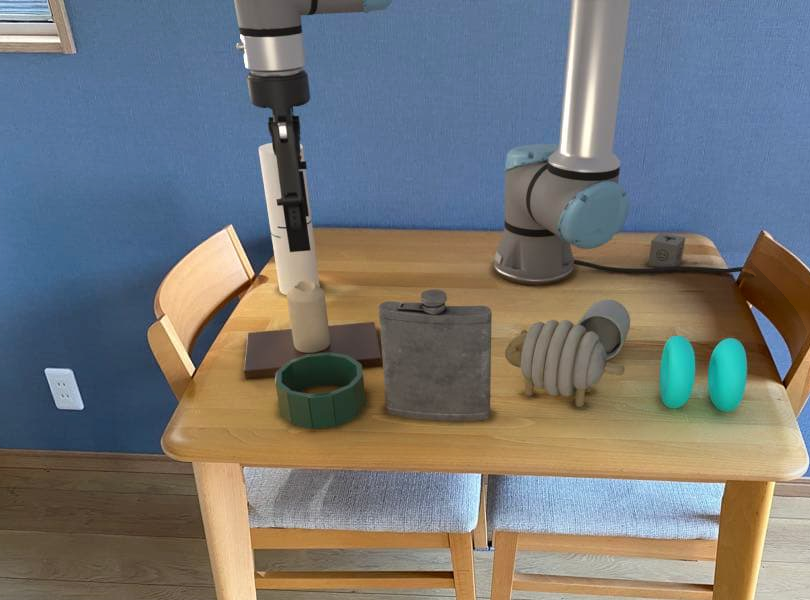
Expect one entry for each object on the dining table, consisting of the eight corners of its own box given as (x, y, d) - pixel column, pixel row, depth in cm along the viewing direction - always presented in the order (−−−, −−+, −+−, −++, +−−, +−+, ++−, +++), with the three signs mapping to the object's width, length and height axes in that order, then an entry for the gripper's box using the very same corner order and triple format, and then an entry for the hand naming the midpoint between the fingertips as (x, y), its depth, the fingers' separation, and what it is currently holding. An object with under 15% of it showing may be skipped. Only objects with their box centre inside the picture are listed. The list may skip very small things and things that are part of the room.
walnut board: (374, 329, 124) (374, 321, 123) (381, 366, 114) (381, 357, 113) (249, 340, 120) (247, 332, 120) (245, 379, 111) (243, 370, 110)
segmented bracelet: (362, 378, 111) (359, 349, 108) (368, 423, 101) (365, 391, 99) (281, 386, 109) (276, 356, 106) (280, 432, 99) (274, 400, 97)
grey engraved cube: (681, 261, 148) (685, 237, 145) (673, 270, 145) (677, 245, 142) (657, 256, 150) (660, 232, 148) (648, 265, 147) (651, 240, 144)
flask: (488, 424, 101) (490, 302, 91) (383, 417, 102) (373, 296, 92) (490, 409, 104) (492, 289, 94) (388, 403, 105) (380, 284, 96)
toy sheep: (513, 366, 114) (516, 299, 108) (625, 385, 110) (634, 316, 103) (493, 403, 105) (494, 332, 99) (614, 424, 101) (623, 352, 95)
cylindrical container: (310, 297, 134) (292, 154, 120) (273, 294, 135) (250, 151, 121) (325, 281, 140) (309, 143, 126) (289, 278, 141) (269, 140, 127)
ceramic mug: (629, 341, 121) (634, 297, 117) (620, 365, 114) (625, 319, 110) (565, 331, 124) (567, 288, 120) (552, 354, 117) (554, 309, 113)
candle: (300, 356, 113) (291, 295, 108) (289, 340, 117) (280, 281, 112) (335, 348, 115) (328, 288, 110) (324, 333, 119) (316, 274, 114)
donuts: (655, 383, 110) (665, 322, 105) (726, 387, 109) (739, 325, 104) (663, 422, 102) (673, 357, 96) (739, 426, 101) (754, 361, 95)
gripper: (250, 55, 104) (274, 205, 116) (240, 92, 84) (270, 269, 96) (305, 53, 106) (323, 202, 117) (308, 88, 85) (330, 264, 97)
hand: (299, 232), depth 107 cm, fingers open, 13 cm apart
